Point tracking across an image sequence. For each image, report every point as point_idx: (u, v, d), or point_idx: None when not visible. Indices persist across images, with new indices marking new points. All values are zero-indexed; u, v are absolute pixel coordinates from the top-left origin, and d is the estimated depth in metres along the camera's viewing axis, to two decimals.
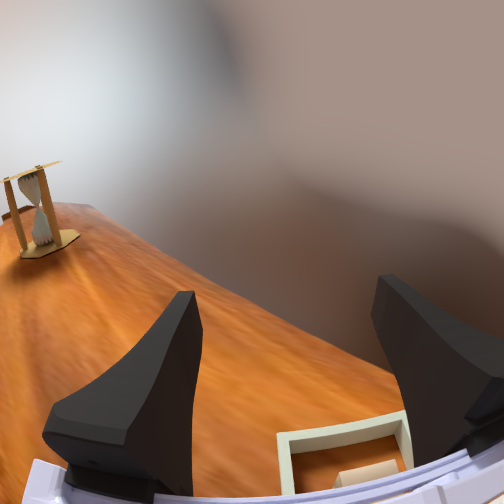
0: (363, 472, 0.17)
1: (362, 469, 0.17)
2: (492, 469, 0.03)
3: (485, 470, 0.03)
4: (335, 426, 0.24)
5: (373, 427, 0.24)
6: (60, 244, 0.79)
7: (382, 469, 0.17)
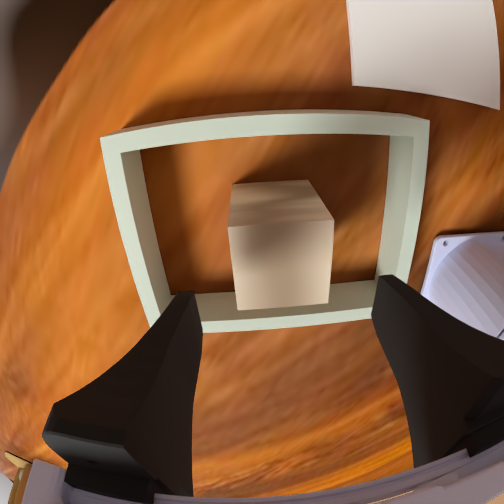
0: (243, 279, 0.14)
1: (238, 280, 0.14)
2: (492, 469, 0.03)
3: (485, 470, 0.03)
4: (132, 266, 0.17)
5: (132, 204, 0.16)
6: (28, 465, 0.51)
7: (245, 251, 0.13)
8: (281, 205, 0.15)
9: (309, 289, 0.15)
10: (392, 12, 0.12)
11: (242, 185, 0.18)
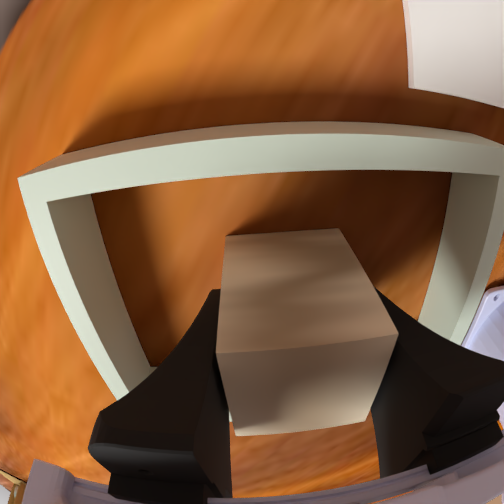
0: (245, 409, 0.08)
1: (236, 411, 0.08)
2: (492, 469, 0.03)
3: (485, 470, 0.03)
4: (89, 351, 0.11)
5: (75, 275, 0.10)
6: (22, 484, 0.45)
7: (247, 381, 0.08)
8: (307, 294, 0.09)
9: (342, 412, 0.09)
10: None
11: (241, 239, 0.12)
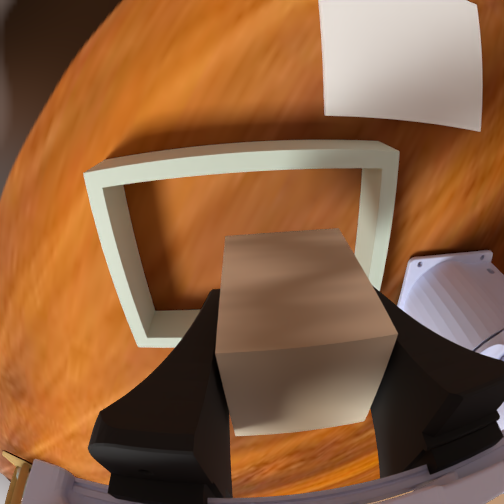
0: (244, 409, 0.08)
1: (236, 411, 0.08)
2: (492, 469, 0.03)
3: (485, 470, 0.03)
4: (117, 287, 0.18)
5: (115, 233, 0.17)
6: (25, 464, 0.52)
7: (247, 382, 0.08)
8: (307, 294, 0.09)
9: (341, 413, 0.09)
10: (368, 37, 0.14)
11: (240, 240, 0.12)
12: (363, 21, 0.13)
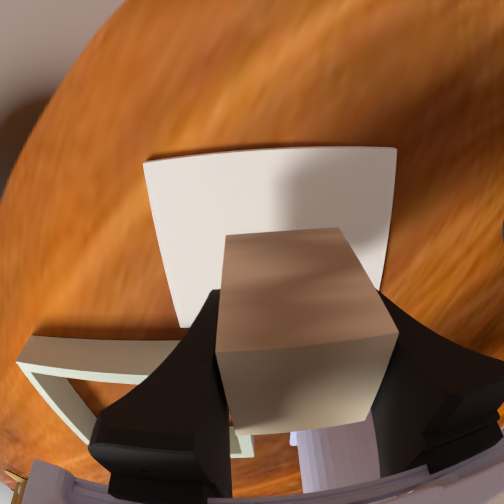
0: (245, 409, 0.08)
1: (236, 410, 0.08)
2: (492, 469, 0.03)
3: (485, 470, 0.03)
4: (61, 417, 0.21)
5: (49, 392, 0.19)
6: (25, 482, 0.54)
7: (247, 381, 0.08)
8: (307, 293, 0.09)
9: (342, 412, 0.09)
10: (213, 252, 0.16)
11: (241, 238, 0.12)
12: (206, 234, 0.15)
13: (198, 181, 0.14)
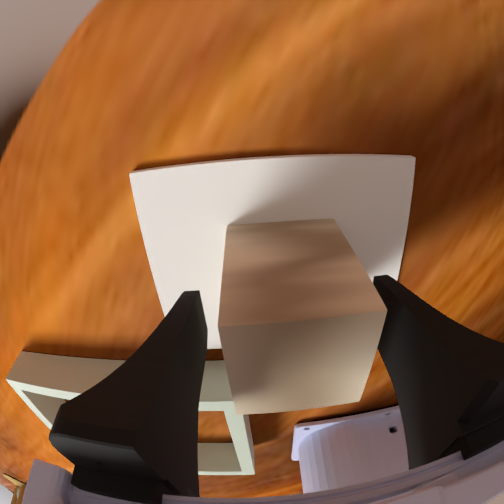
0: (244, 386, 0.09)
1: (236, 387, 0.09)
2: (492, 469, 0.03)
3: (485, 470, 0.03)
4: None
5: (41, 409, 0.17)
6: (24, 486, 0.53)
7: (247, 356, 0.08)
8: (302, 276, 0.09)
9: (337, 391, 0.09)
10: (210, 272, 0.14)
11: (241, 228, 0.13)
12: (201, 252, 0.14)
13: (192, 194, 0.12)
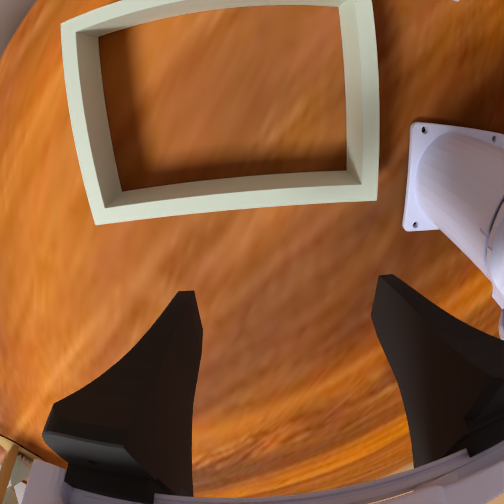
0: None
1: None
2: (492, 469, 0.03)
3: (485, 470, 0.03)
4: (76, 140, 0.15)
5: (81, 77, 0.13)
6: (14, 445, 0.50)
7: None
8: None
9: None
10: None
11: None
12: None
13: None
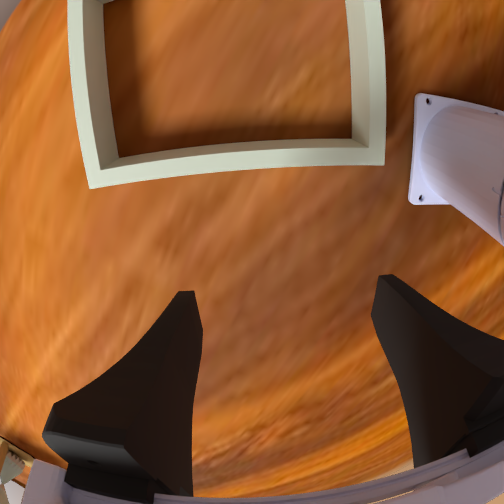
0: None
1: None
2: (492, 469, 0.03)
3: (485, 470, 0.03)
4: (75, 99, 0.13)
5: (85, 37, 0.12)
6: (4, 442, 0.47)
7: None
8: None
9: None
10: None
11: None
12: None
13: None
